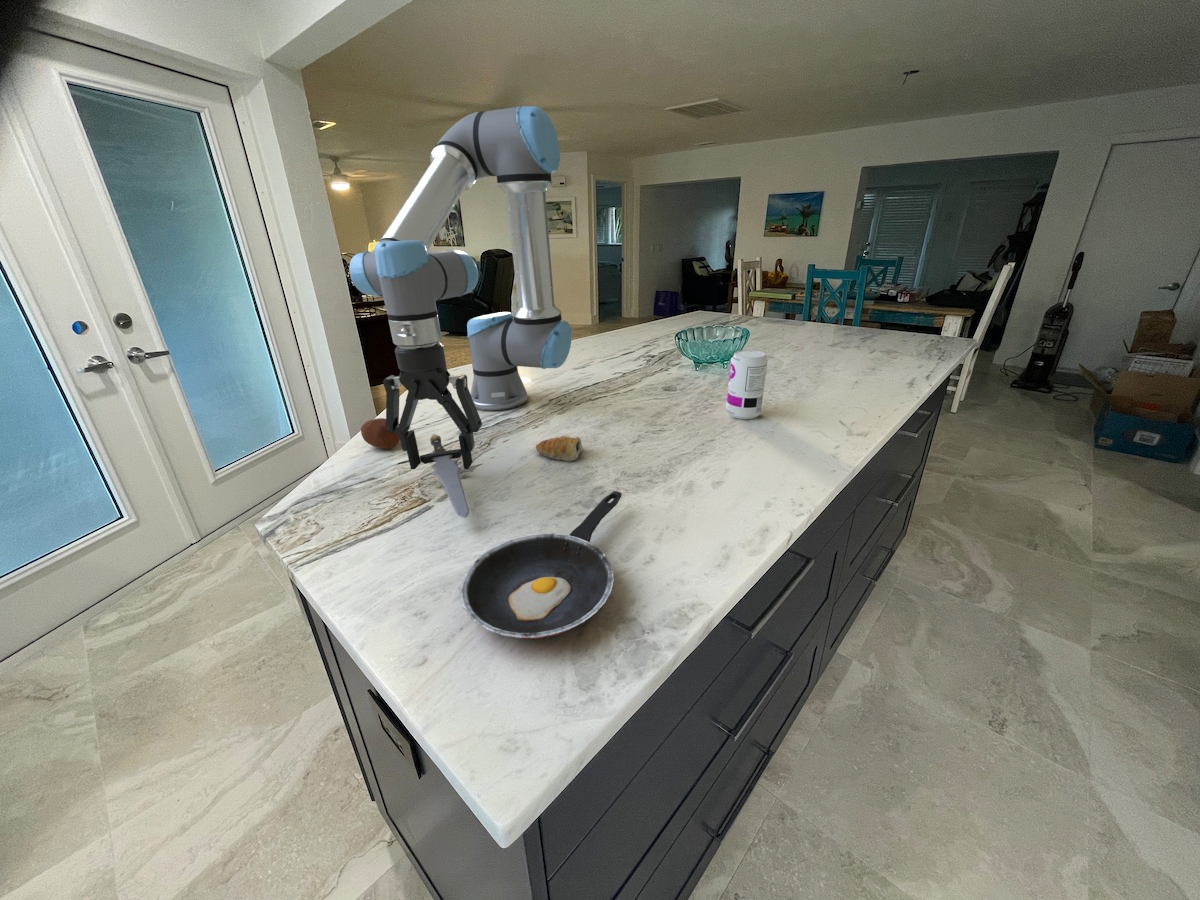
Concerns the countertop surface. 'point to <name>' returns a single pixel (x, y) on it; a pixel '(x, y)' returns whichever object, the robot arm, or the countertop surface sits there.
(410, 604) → the countertop surface
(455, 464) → the dagger
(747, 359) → the supplement can
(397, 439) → the potato
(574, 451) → the pastry
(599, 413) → the countertop surface
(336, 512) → the countertop surface
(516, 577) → the frying pan
